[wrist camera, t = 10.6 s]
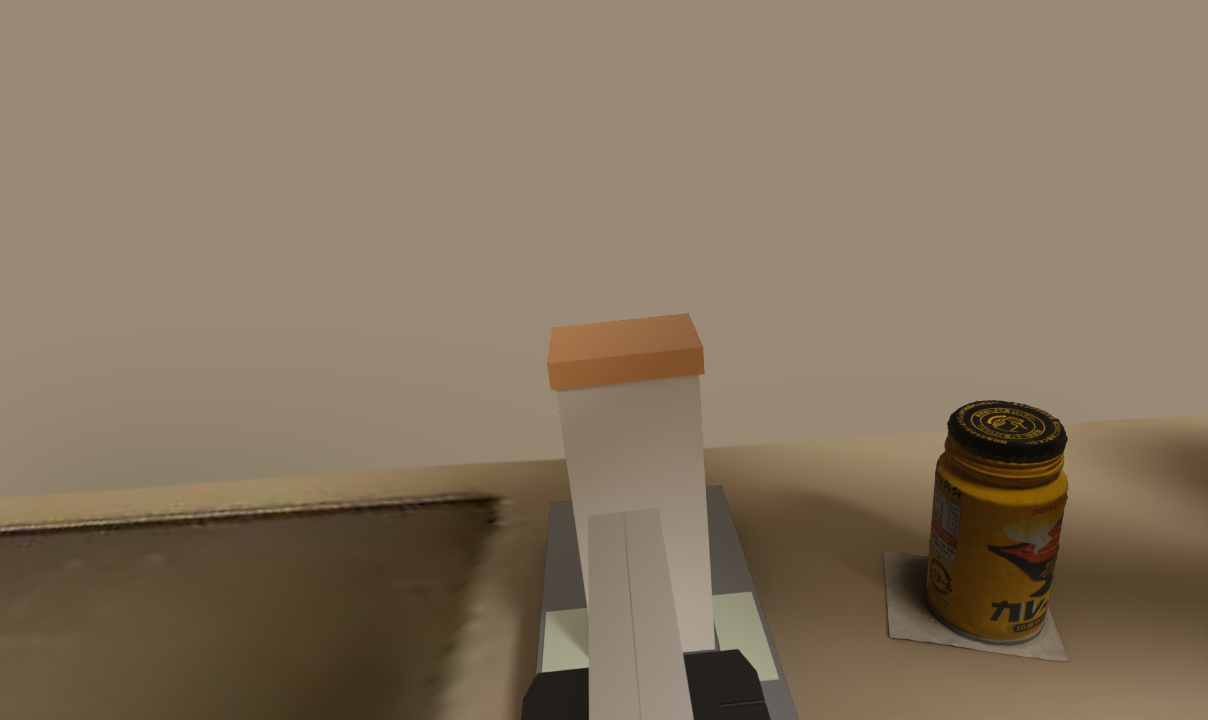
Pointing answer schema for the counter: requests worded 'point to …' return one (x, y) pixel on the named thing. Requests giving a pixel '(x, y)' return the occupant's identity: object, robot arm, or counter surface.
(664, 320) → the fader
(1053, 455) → the condiment
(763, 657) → the console
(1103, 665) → the counter surface
